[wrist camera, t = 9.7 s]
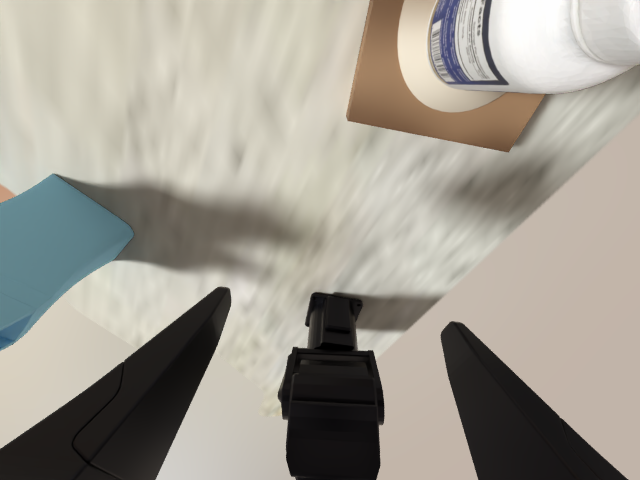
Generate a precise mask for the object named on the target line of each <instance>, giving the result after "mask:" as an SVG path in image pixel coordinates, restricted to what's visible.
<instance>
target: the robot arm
mask: <svg viewBox="0 0 640 480" xmlns="http://www.w3.org/2000/svg"><path fill="white" fill-rule="evenodd" d="M362 306H363V302H362V301H361V300H356V299H350V298H343V297H337V296H330V295H324V294H317V293H313V294H312V295H311V298H310V303H309V307H308V312H307V317H306V321H305V325H306V326H307V327H309V336H308V346H307V348H298V347H293V349H292V354H290V355H289V356H288V360H287V366H286V371H285V374H284V377H283V380H282V383H281V385H280V388H279V391H278V399H279V400H280V402H281V407H282V417H283V419H284V420H288V428H287V440H286V452H287V453H286V460H287V464H288V468H289V471H290V475H291V476H292V477H295V478H296V480H376V479H377V475H378V472H379V468H380V445H379V425H383V423H384V398H383V390H382V385H381V381H380V377H379V372H378V369H377V365H376V360H375V356H374V352H373V350H368V351H358V347H357V336H356V325H355V322H356V320H357V318H358V315H359V313H360V311H361V308H362ZM230 307H231V293H230V289H229V288H227V287H217V288H216V289H215V290H213V291H212V292H211V293H210V294H208V295H207V296H206V297H205V298H203V299H202V300H201V301H199V302H198V303H197V304H196V305H194V306H193V307H192V308H191V309H189V310H188V311H187V312H185V313H184V314H183V315H182V316H180V317H179V318H178V319H176V320H175V321H174V322H173V323H171V324H170V325H169V326H168V327H166V328H165V329H164V330H162V331H161V332H160V333H159V334H157V335H156V336H155V337H154V338H152V339H151V340H150V341H148V342H147V343H146V344H145V345H143V346H142V347H141V348H140V349H138V350H137V351H136V352H135V353H133V354H132V355H131V356H129V357H128V358H127V359H125V361H124V362H122V363H121V364H119V365H118V366H117V367H115V368H114V369H113V370H111V371H110V372H109V373H107V374H106V375H105V376H103V377H102V378H101V379H100V380H98V381H97V382H96V383H94V384H93V385H92V386H90V387H89V388H88V389H86V390H85V391H83V392H82V393H81V394H79V395H78V396H76V397H75V398H74V399H72V400H71V401H69V402H68V403H67V404H65V405H64V406H62V407H61V408H59V409H58V410H56V411H55V412H53V413H52V414H51V415H49V416H48V417H46V418H45V419H43V420H42V421H40V422H39V423H37V424H36V425H35V426H33V427H32V428H30V429H29V430H27V431H26V432H24V433H23V434H21V435H20V436H18V437H17V438H16V439H14V440H13V441H11V442H10V443H8V444H7V445H5V446H4V447H3V448H1V449H0V480H155V479H156V477H157V475H158V473H159V471H160V469H161V466H162V464H163V462H164V460H165V458H166V456H167V453H168V451H169V449H170V447H171V445H172V443H173V440H174V438H175V436H176V434H177V432H178V430H179V428H180V425H181V423H182V421H183V419H184V417H185V414H186V412H187V410H188V408H189V406H190V404H191V401H192V399H193V397H194V395H195V393H196V391H197V389H198V386H199V384H200V382H201V380H202V378H203V376H204V373H205V371H206V369H207V367H208V365H209V363H210V360H211V358H212V356H213V354H214V352H215V350H216V347H217V345H218V342H219V339H220V336H221V334H222V331H223V328H224V325H225V322H226V319H227V316H228V313H229V310H230ZM441 342H442V347H443V352H444V357H445V362H446V368H447V373H448V377H449V381H450V384H451V388H452V391H453V395H454V398H455V401H456V405H457V408H458V411H459V415H460V419H461V422H462V425H463V429H464V432H465V436H466V439H467V442H468V446H469V449H470V453H471V456H472V460H473V463H474V466H475V470H476V473H477V477H478V480H628V479H627V478H626V477H624V476H623V475H622V474H621V473H620V472H619V471H618V470H617V469H616V468H614V467H613V466H612V465H611V464H610V463H609V462H608V461H607V460H606V459H604V458H603V457H602V456H601V455H600V454H599V453H598V452H597V451H596V450H595V449H593V448H592V447H591V446H590V445H589V444H588V443H587V442H586V441H585V440H584V439H583V438H582V437H581V436H580V435H579V434H577V433H576V432H575V431H574V430H573V429H572V428H571V427H570V426H569V425H568V424H567V423H566V422H565V421H564V420H563V419H561V418H560V417H559V416H558V415H557V413H556V412H555V411H553V410H552V409H551V408H550V407H549V406H548V405H547V404H546V403H545V402H544V401H543V400H542V399H541V398H540V397H539V396H538V395H537V394H536V393H535V392H534V391H533V390H532V389H531V388H529V387H528V386H527V385H526V384H525V383H524V382H523V381H522V380H521V379H520V378H519V377H518V376H517V375H516V374H515V373H514V372H513V371H512V370H511V369H510V368H509V367H508V366H507V365H506V364H504V363H503V362H502V361H501V360H500V359H499V358H498V357H497V356H496V355H495V354H494V353H493V352H492V351H491V350H490V349H489V348H488V347H487V346H486V345H485V344H484V343H483V342H482V341H480V339H478V338H477V337H476V336H475V335H474V334H473V333H472V332H471V331H470V330H469V329H468V328H467V327H466V326H465V325H464V324H462V323H460V322H454V321H452V322H450V323H449V324H448V325H447V326H446V327H445V328H444V330H443V331H442V332H441Z"/></svg>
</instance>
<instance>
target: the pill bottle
mask: <svg viewBox="0 0 640 480" xmlns="http://www.w3.org/2000/svg"><path fill="white" fill-rule="evenodd" d="M426 54H427V59H428V63H429V66H430V68H431V70H432V72H433V74H434V75H435V76H436V78H437V79H438V80H439V81H440V82H442V83H443V84H445V85H446V86H448V87H451V88H454V89H460V90H472V91H493V92H513V93H529V94H562V93H569V92H574V91H579V90H582V89H586V88H589V87H592V86H595V85H598V84H600V83H603V82H605V81H607V80H609V79H612V78H614V77H616V76H618V75H620V74H622V73H624V72H626V71H627V70H629V69H631V68H633V67H634V66H636V65H640V0H436V2H435V5H434V7H433V9H432V12H431V15H430V19H429V22H428V27H427V33H426Z"/></svg>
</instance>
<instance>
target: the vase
mask: <svg viewBox="0 0 640 480" xmlns="http://www.w3.org/2000/svg"><path fill="white" fill-rule="evenodd" d="M133 236H134V232H133V230H132V229H131V227H130V226H129V225H128V224H127V223H125V222H124V221H123V220H121V219H120V218H118V217H117V216H116V215H114V214H113V213H111V212H110V211H108V210H107V209H105V208H104V207H102V206H101V205H99V204H98V203H96V202H95V201H93V200H92V199H90V198H89V197H87V196H86V195H84V194H83V193H81V192H80V191H78V190H77V189H76V188H74V187H73V186H71V185H70V184H68V183H67V182H65V181H64V180H62V179H61V178H59V177H58V176H56V175H55V174H52V175H50V176H49V177H47V178H46V179H44V180H43V181H42V182H40V183H39V184H37V185H35V186H34V187H32V188H31V189H29V190H27V191H25V192H24V193H22V194H20V195H18V196H16V197H14V198H12V199H9V200H7V201H4V202H2V203H0V351H1V350H3V349H5V348H7V347H9V346H10V345H13V344H14V343H15V342H16V341H18V340H19V339H20V338H21V337H23V336H24V335H25V334H26V333H27V332H28V330H30V329H31V327H32V326H33V325H34V324H35V323H36V322H37V321H38V320H39V318H40V317H41V316H42V315H43V314H44V313H45V312H46V311H47V310H48V309H49V308H50V307H51V306H52V305H53V304H54V303H55V302H56V301H57V300H58V299H59V298H60V297H61V296H62V295H63V294H64V293H65V292H66V291H68V290H69V289H70V288H71V287H72V286H73V285H75V284H76V283H77V282H79V281H80V280H81V279H83V278H84V277H86V276H87V275H89V274H90V273H92V272H93V271H95V270H97V269H98V268H100V267H102V266H104V265H105V264H107V263H109V262H111V261H112V260H114V259H115V258H116V257H117V255H118V254H119V253H120V252H121V251H122V250H123V248H124V247H125V246H126V245H127V244H128V242H129V241H130V240H131V239H132V238H133Z"/></svg>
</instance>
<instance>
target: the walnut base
mask: <svg viewBox="0 0 640 480" xmlns="http://www.w3.org/2000/svg"><path fill="white" fill-rule="evenodd" d="M435 2H436V0H370V3H369V8H368V13H367V17H366V22H365V27H364V32H363V37H362V42H361V46H360V51H359V56H358V61H357V66H356V71H355V75H354V80H353V85H352V90H351V95H350V99H349V104H348V109H347V114H346V117H347V120H348V121H351V122H356V123H361V124H367V125H372V126H377V127H382V128H387V129H392V130H397V131H402V132H407V133H412V134H417V135H422V136H428V137H433V138H438V139H443V140H448V141H453V142H458V143H463V144H468V145H473V146H478V147H483V148H489V149H494V150H499V151H504V152H509V151H510V149H511V148H512V146H513V145H514V143H515V141H516V140H517V138H518V137H519V135H520V134H521V132H522V130H523V129H524V127H525V126H526V124H527V122H528V121H529V119H530V118H531V116H532V115H533V113H534V111H535V110H536V108H537V107H538V105H539V104H540V102H541V100H542V99H543V97H544V96H545V94H529V93H513V92H493V91H472V90H460V89H454V88H451V87H448V86H446V85H445V84H443V83H442V82H440V81H439V80H438V79H437V78H436V76H435V75H434V74H433V72H432V70H431V68H430V66H429V63H428V59H427V54H426V33H427V27H428V22H429V19H430V15H431V12H432V9H433V7H434V5H435Z"/></svg>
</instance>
